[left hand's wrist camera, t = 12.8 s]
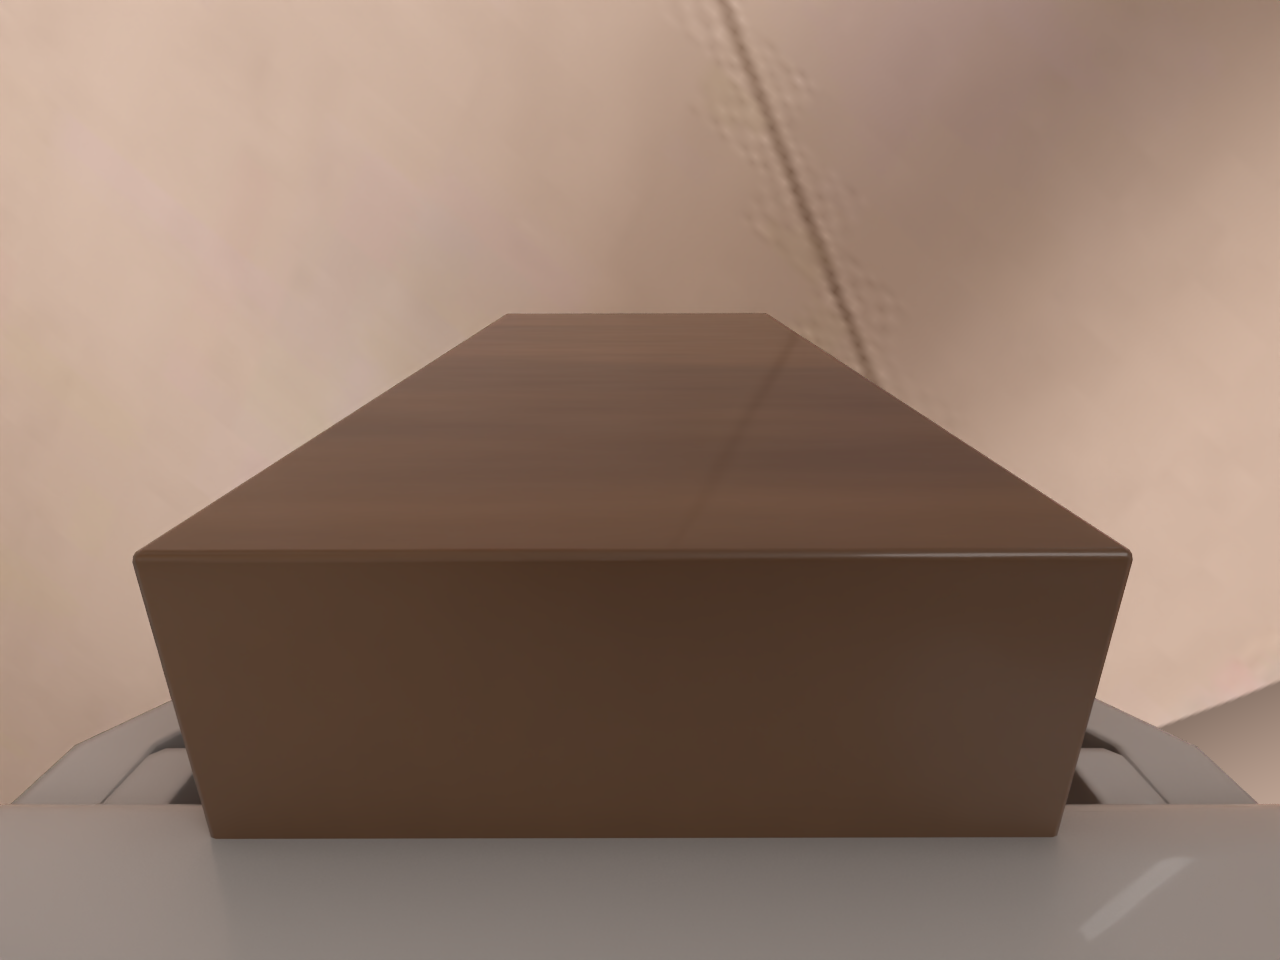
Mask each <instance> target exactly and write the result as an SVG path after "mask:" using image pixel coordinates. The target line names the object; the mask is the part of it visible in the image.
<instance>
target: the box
mask: <svg viewBox="0 0 1280 960" xmlns="http://www.w3.org/2000/svg"><path fill="white" fill-rule="evenodd" d="M1132 560H1133V559H1132V553H1131V552H1130V550H1129V549H1128V548H1126V547H1124V546H1123V545H1121V544H1120V543H1118V542H1117V541H1115V540H1114V539H1112V538H1111V537H1109V536H1108V535H1106V534H1104V533H1103V532H1101V531H1100V530H1098V529H1097V528H1095V527H1094V526H1092V525H1091V524H1089V523H1088V522H1086V521H1085V520H1083V519H1081V518H1080V517H1078V516H1077V515H1075V514H1074V513H1072V512H1071V511H1069V510H1068V509H1066V508H1065V507H1063V506H1061V505H1060V504H1058V503H1057V502H1055V501H1054V500H1052V499H1051V498H1049V497H1048V496H1046V495H1045V494H1043V493H1042V492H1040V491H1038V490H1037V489H1035V488H1034V487H1032V486H1031V485H1029V484H1028V483H1026V482H1025V481H1023V480H1022V479H1020V478H1018V477H1017V476H1015V475H1014V474H1012V473H1011V472H1009V471H1008V470H1006V469H1005V468H1003V467H1002V466H1000V465H999V464H997V463H995V462H994V461H992V460H991V459H989V458H988V457H986V456H985V455H983V454H982V453H980V452H979V451H977V450H975V449H974V448H972V447H971V446H969V445H968V444H966V443H965V442H963V441H962V440H960V439H959V438H957V437H956V436H954V435H952V434H951V433H949V432H948V431H946V430H945V429H943V428H942V427H940V426H939V425H937V424H936V423H934V422H932V421H931V420H929V419H928V418H926V417H925V416H923V415H922V414H920V413H919V412H917V411H916V410H914V409H913V408H911V407H909V406H908V405H906V404H905V403H903V402H902V401H900V400H899V399H897V398H896V397H894V396H893V395H891V394H889V393H888V392H886V391H885V390H883V389H882V388H880V387H879V386H877V385H876V384H874V383H873V382H871V381H870V380H868V379H866V378H865V377H863V376H862V375H860V374H859V373H857V372H856V371H854V370H853V369H851V368H850V367H848V366H846V365H845V364H843V363H842V362H840V361H839V360H837V359H836V358H834V357H833V356H831V355H830V354H828V353H827V352H825V351H823V350H822V349H820V348H819V347H817V346H816V345H814V344H813V343H811V342H810V341H808V340H807V339H805V338H803V337H802V336H800V335H799V334H797V333H796V332H794V331H793V330H791V329H790V328H788V327H787V326H785V325H784V324H782V323H780V322H779V321H777V320H776V319H774V318H773V317H771V316H770V315H768V314H766V313H692V314H506V315H504V316H503V317H501V318H500V319H498V320H496V321H495V322H493V323H492V324H490V325H489V326H487V327H486V328H484V329H482V330H481V331H479V332H478V333H476V334H475V335H473V336H472V337H470V338H468V339H467V340H465V341H464V342H462V343H461V344H459V345H458V346H456V347H454V348H453V349H451V350H450V351H448V352H447V353H445V354H444V355H442V356H440V357H439V358H437V359H436V360H434V361H433V362H431V363H430V364H428V365H426V366H425V367H423V368H422V369H420V370H419V371H417V372H416V373H414V374H412V375H411V376H409V377H408V378H406V379H405V380H403V381H401V382H400V383H398V384H397V385H395V386H394V387H392V388H391V389H389V390H387V391H386V392H384V393H383V394H381V395H380V396H378V397H377V398H375V399H373V400H372V401H370V402H369V403H367V404H366V405H364V406H363V407H361V408H359V409H358V410H356V411H355V412H353V413H352V414H350V415H349V416H347V417H345V418H344V419H342V420H341V421H339V422H338V423H336V424H335V425H333V426H331V427H330V428H328V429H327V430H325V431H324V432H322V433H321V434H319V435H317V436H316V437H314V438H313V439H311V440H310V441H308V442H307V443H305V444H303V445H302V446H300V447H299V448H297V449H296V450H294V451H292V452H291V453H289V454H288V455H286V456H285V457H283V458H282V459H280V460H278V461H277V462H275V463H274V464H272V465H271V466H269V467H268V468H266V469H264V470H263V471H261V472H260V473H258V474H257V475H255V476H254V477H252V478H250V479H249V480H247V481H246V482H244V483H243V484H241V485H240V486H238V487H236V488H235V489H233V490H232V491H230V492H229V493H227V494H226V495H224V496H222V497H221V498H219V499H218V500H216V501H215V502H213V503H212V504H210V505H208V506H207V507H205V508H204V509H202V510H201V511H199V512H198V513H196V514H194V515H193V516H191V517H190V518H188V519H187V520H185V521H183V522H182V523H180V524H179V525H177V526H176V527H174V528H173V529H171V530H169V531H168V532H166V533H165V534H163V535H162V536H160V537H159V538H157V539H155V540H154V541H152V542H151V543H149V544H148V545H146V546H145V547H143V548H141V549H140V550H138V551H137V552H136V553H135V554H134V556H133V566H134V569H135V573H136V576H137V580H138V583H139V587H140V590H141V594H142V597H143V601H144V604H145V608H146V611H147V615H148V618H149V622H150V625H151V629H152V632H153V636H154V639H155V643H156V646H157V650H158V653H159V657H160V660H161V664H162V667H163V671H164V674H165V678H166V681H167V685H168V688H169V692H170V695H171V699H172V702H173V706H174V709H175V713H176V716H177V720H178V723H179V727H180V730H181V734H182V737H183V741H184V744H185V748H186V751H187V755H188V759H189V762H190V766H191V769H192V773H193V776H194V780H195V783H196V787H197V790H198V794H199V797H200V801H201V804H202V808H203V811H204V815H205V818H206V822H207V825H208V829H209V832H210V836H211V837H212V838H215V839H438V838H928V837H1054V836H1057V834H1058V831H1059V827H1060V823H1061V820H1062V816H1063V812H1064V809H1065V805H1066V801H1067V798H1068V794H1069V790H1070V787H1071V783H1072V779H1073V776H1074V772H1075V768H1076V765H1077V761H1078V758H1079V754H1080V750H1081V747H1082V743H1083V739H1084V736H1085V732H1086V728H1087V725H1088V721H1089V717H1090V714H1091V710H1092V706H1093V703H1094V699H1095V695H1096V692H1097V688H1098V684H1099V681H1100V677H1101V674H1102V670H1103V666H1104V663H1105V659H1106V655H1107V652H1108V648H1109V644H1110V641H1111V637H1112V633H1113V630H1114V626H1115V622H1116V619H1117V615H1118V611H1119V608H1120V604H1121V601H1122V597H1123V593H1124V590H1125V586H1126V582H1127V579H1128V575H1129V571H1130V568H1131V564H1132Z"/></svg>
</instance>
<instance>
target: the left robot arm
mask: <svg viewBox="0 0 1280 960" xmlns="http://www.w3.org/2000/svg"><path fill="white" fill-rule="evenodd" d="M0 960H1280V804H1258V803H1257V802H1256V801H1255V800H1254V799H1253V798H1252V797H1251V796H1250V795H1249V794H1248V793H1246V792H1245V791H1244V790H1243V789H1242V788H1241V787H1240V786H1239V785H1238V784H1237V783H1236V782H1235V781H1234V780H1233V779H1231V778H1230V777H1229V776H1228V775H1227V774H1226V773H1225V772H1224V771H1223V770H1222V769H1221V768H1220V767H1219V766H1218V765H1217V764H1215V763H1214V762H1213V761H1212V760H1211V759H1210V758H1209V757H1208V756H1207V755H1206V754H1205V753H1204V752H1203V751H1201V750H1200V749H1199V748H1198V747H1197V746H1195V745H1193V744H1191V743H1189V742H1187V741H1185V740H1183V739H1180V738H1178V737H1176V736H1174V735H1172V734H1170V733H1168V732H1166V731H1164V730H1161V729H1159V728H1157V727H1155V726H1153V725H1151V724H1149V723H1147V722H1144V721H1142V720H1140V719H1138V718H1136V717H1134V716H1132V715H1130V714H1127V713H1125V712H1123V711H1121V710H1119V709H1117V708H1115V707H1113V706H1111V705H1108V704H1106V703H1104V702H1102V701H1100V700H1098V699H1096V698H1095V699H1094V703H1093V706H1092V710H1091V714H1090V717H1089V721H1088V725H1087V728H1086V732H1085V736H1084V739H1083V743H1082V747H1081V750H1080V754H1079V758H1078V761H1077V765H1076V768H1075V772H1074V776H1073V779H1072V783H1071V787H1070V790H1069V794H1068V798H1067V801H1066V805H1065V809H1064V812H1063V816H1062V820H1061V823H1060V827H1059V831H1058V834H1057V836H1054V837H928V838H438V839H215V838H212V837H211V836H210V832H209V829H208V825H207V822H206V818H205V815H204V811H203V808H202V804H201V801H200V797H199V794H198V790H197V787H196V783H195V780H194V776H193V773H192V769H191V766H190V762H189V759H188V755H187V751H186V748H185V744H184V741H183V737H182V734H181V730H180V727H179V723H178V720H177V716H176V713H175V709H174V706H173V702H172V700H171V701H169V702H167V703H165V704H163V705H160V706H158V707H156V708H154V709H152V710H150V711H148V712H145V713H143V714H141V715H139V716H137V717H135V718H133V719H130V720H128V721H126V722H124V723H122V724H120V725H118V726H115V727H113V728H111V729H109V730H107V731H105V732H102V733H100V734H98V735H96V736H94V737H92V738H90V739H87V740H85V741H83V742H81V743H79V744H77V745H75V746H74V747H73V748H71V749H70V750H69V751H68V752H67V753H66V754H65V755H64V756H63V757H62V758H61V759H59V760H58V761H57V762H56V763H55V764H54V765H53V766H52V767H51V768H50V769H48V770H47V771H46V772H45V773H44V774H43V775H42V776H41V777H40V778H39V779H38V780H36V781H35V782H34V783H33V784H32V785H31V786H30V787H29V788H28V789H27V790H26V791H24V792H23V793H22V794H21V795H20V796H19V797H18V798H17V799H16V800H15V801H13V802H12V803H11V804H0Z"/></svg>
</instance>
